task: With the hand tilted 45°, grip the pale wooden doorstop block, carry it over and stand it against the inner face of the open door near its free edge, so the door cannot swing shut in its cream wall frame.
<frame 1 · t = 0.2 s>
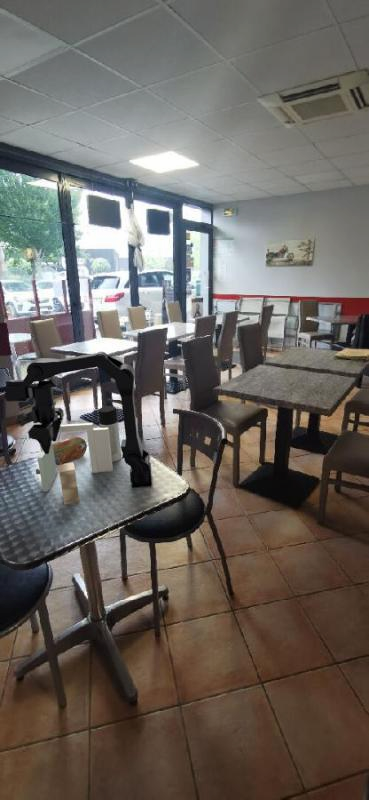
hand: (50, 447, 126), 15 cm above the table, tool pointing down, fingers open, 9 cm apart
spray can: (112, 459, 149), on the table
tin: (68, 460, 150), on the table
door: (45, 466, 132), point 6 cm above the table, hinge at -90.0°
doorstop block: (71, 498, 124), on the table
wall frame: (72, 472, 140), on the table
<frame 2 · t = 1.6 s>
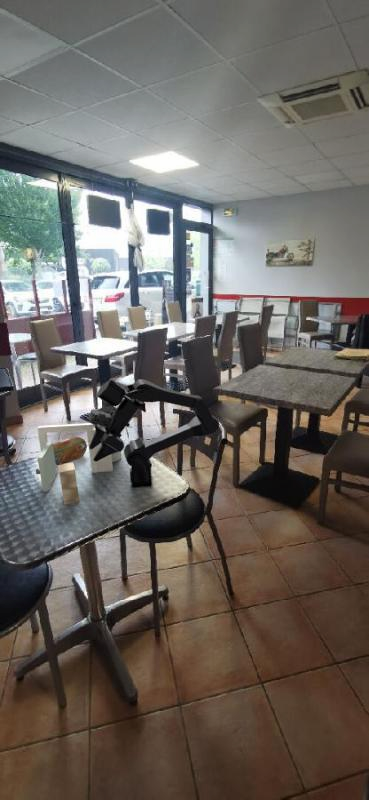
hand: (92, 454, 123), 13 cm above the table, tool tilted 45°, fingers open, 9 cm apart
nothing on the table moved.
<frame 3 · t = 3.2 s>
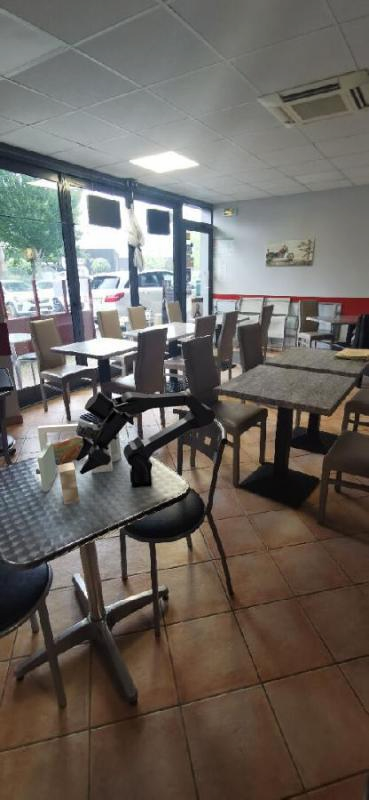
hand: (78, 466, 122), 10 cm above the table, tool tilted 45°, fingers open, 9 cm apart
nothing on the table moved.
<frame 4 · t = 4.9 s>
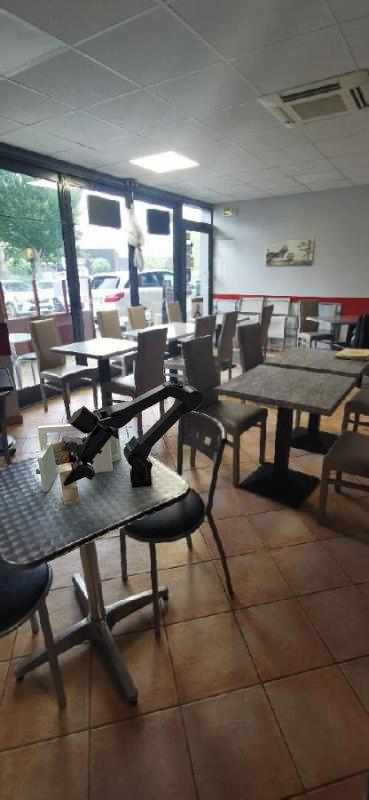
hand: (63, 480, 122), 7 cm above the table, tool tilted 45°, fingers closed on doorstop block, 5 cm apart
doorstop block: (71, 498, 124), on the table, touching gripper
everything else where it was.
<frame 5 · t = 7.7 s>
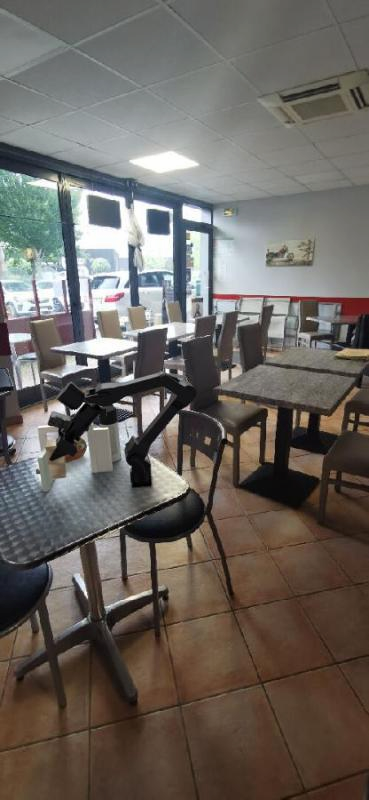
hand: (51, 456, 122), 14 cm above the table, tool tilted 45°, fingers closed on doorstop block, 5 cm apart
doorstop block: (59, 474, 125), point 7 cm above the table, touching gripper
everything else where it was.
when the fingers open (7 cm above the table, at t = 10.6 s): doorstop block stays where it is, on the table.
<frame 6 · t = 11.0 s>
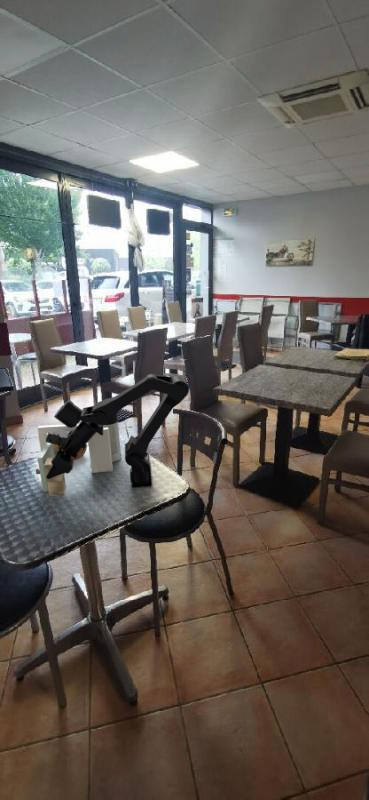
hand: (49, 470, 126), 8 cm above the table, tool tilted 45°, fingers open, 9 cm apart
doorstop block: (57, 491, 129), on the table
everything else where it was.
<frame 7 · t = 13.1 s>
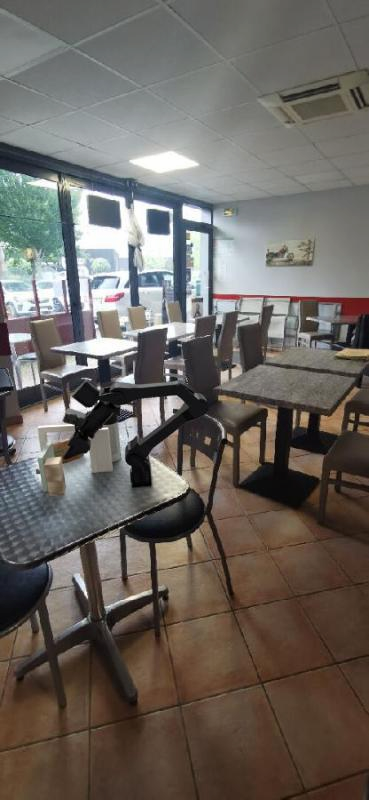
hand: (66, 452, 125), 13 cm above the table, tool tilted 45°, fingers open, 9 cm apart
nothing on the table moved.
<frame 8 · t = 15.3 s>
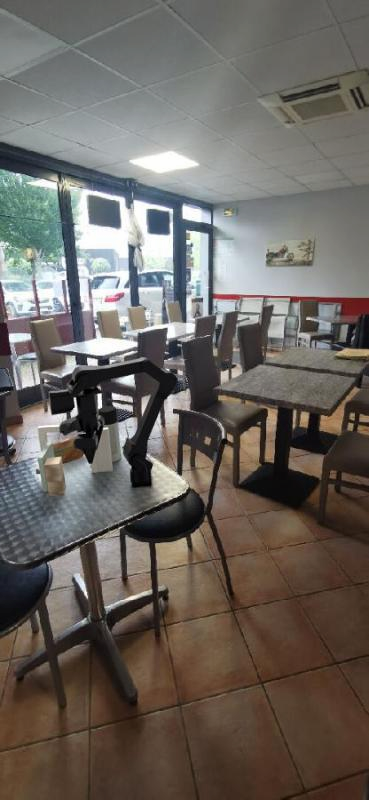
hand: (93, 456, 122), 13 cm above the table, tool pointing down, fingers open, 9 cm apart
nothing on the table moved.
at the end: doorstop block 0.5 cm from the target spot, on the table; doorstop block tilted 0°; door at -90° (first picture: -90°) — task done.
